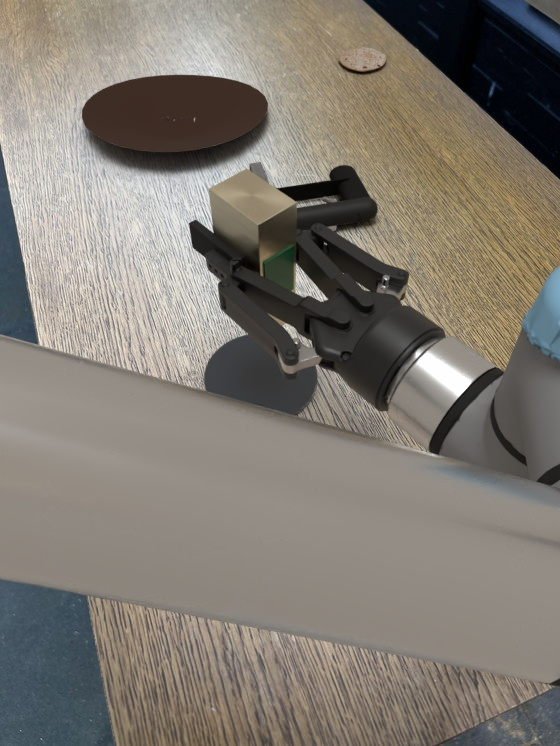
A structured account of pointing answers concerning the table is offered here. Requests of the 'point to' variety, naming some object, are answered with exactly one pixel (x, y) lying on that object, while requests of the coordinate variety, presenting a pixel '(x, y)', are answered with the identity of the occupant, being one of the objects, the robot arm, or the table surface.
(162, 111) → the plate
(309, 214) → the door handle
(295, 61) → the table surface
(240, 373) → the coaster
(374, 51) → the flatbread
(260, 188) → the tea tin
